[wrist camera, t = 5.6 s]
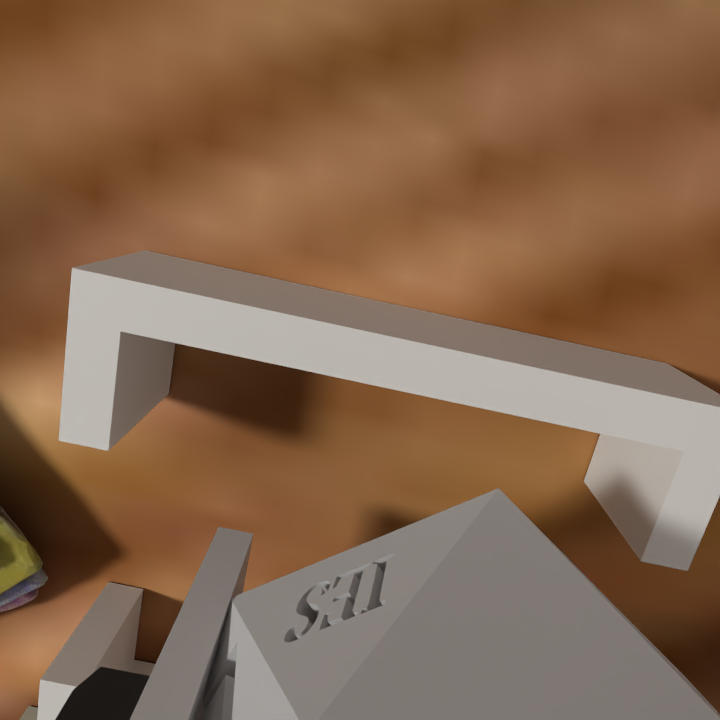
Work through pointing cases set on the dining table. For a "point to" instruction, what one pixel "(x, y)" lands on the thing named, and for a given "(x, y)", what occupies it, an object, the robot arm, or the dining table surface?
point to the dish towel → (17, 566)
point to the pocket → (380, 368)
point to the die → (443, 634)
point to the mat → (30, 713)
